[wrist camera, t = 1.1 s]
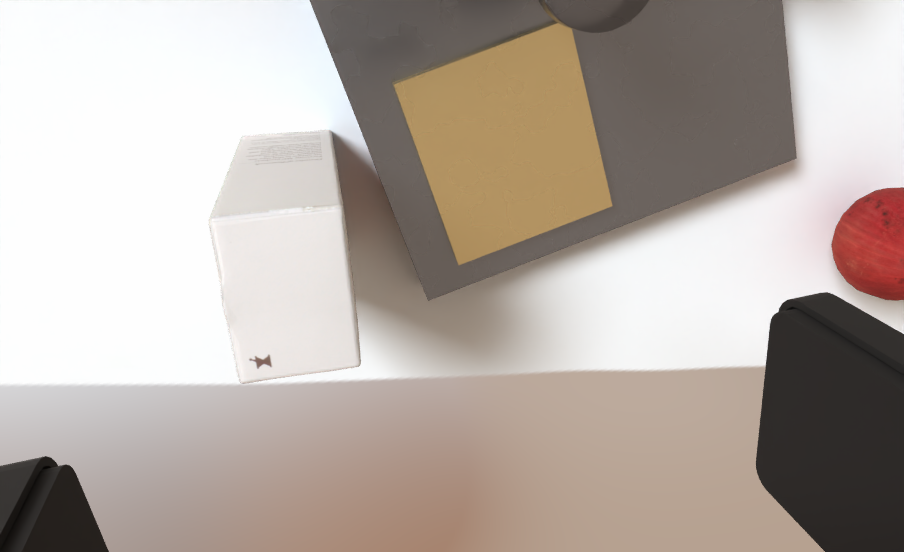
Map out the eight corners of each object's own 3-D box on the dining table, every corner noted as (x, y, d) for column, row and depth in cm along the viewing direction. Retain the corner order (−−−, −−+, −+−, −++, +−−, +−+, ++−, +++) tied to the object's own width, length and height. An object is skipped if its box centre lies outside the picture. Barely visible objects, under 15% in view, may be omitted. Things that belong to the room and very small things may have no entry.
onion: (812, 174, 37) (931, 223, 30) (904, 168, 38) (1040, 215, 31) (791, 270, 40) (896, 337, 33) (877, 263, 41) (998, 326, 34)
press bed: (735, -196, 29) (923, -269, 20) (772, 148, 36) (923, 208, 27) (297, -35, 29) (290, -36, 20) (422, 283, 36) (459, 389, 27)
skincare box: (346, 245, 34) (363, 373, 23) (259, 254, 33) (235, 390, 23) (333, 124, 32) (345, 204, 21) (238, 131, 31) (200, 218, 20)
